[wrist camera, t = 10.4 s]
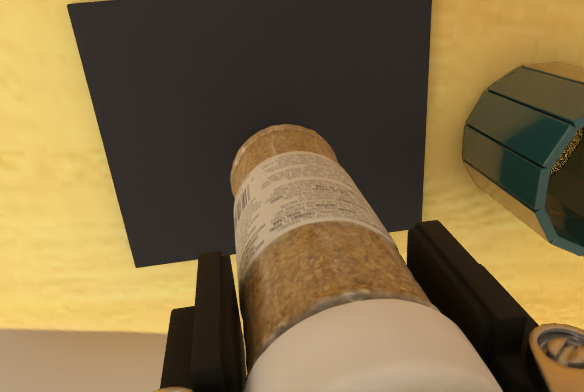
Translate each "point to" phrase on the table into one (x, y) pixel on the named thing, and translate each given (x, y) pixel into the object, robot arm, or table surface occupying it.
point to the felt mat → (250, 104)
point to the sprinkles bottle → (332, 283)
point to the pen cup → (532, 149)
